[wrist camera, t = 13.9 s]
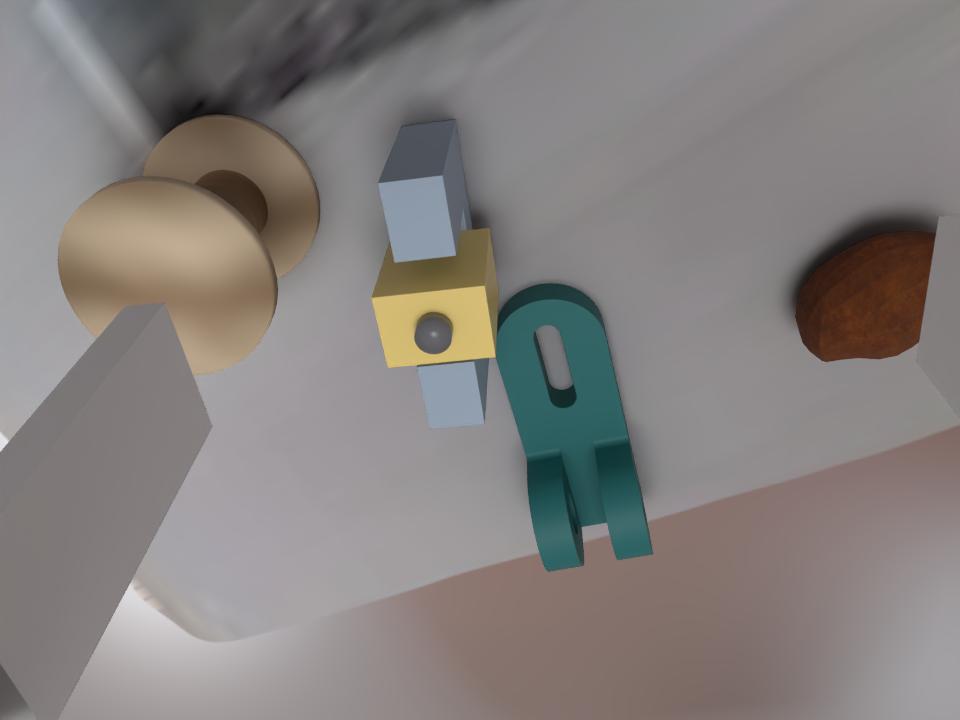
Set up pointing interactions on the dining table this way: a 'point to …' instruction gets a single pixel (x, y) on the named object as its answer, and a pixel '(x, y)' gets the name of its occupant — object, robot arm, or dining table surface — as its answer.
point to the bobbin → (196, 237)
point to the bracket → (570, 428)
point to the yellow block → (439, 305)
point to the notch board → (433, 250)
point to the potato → (868, 298)
